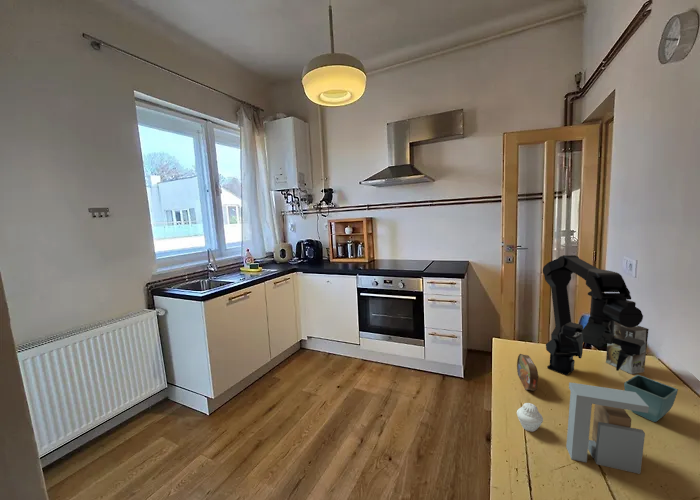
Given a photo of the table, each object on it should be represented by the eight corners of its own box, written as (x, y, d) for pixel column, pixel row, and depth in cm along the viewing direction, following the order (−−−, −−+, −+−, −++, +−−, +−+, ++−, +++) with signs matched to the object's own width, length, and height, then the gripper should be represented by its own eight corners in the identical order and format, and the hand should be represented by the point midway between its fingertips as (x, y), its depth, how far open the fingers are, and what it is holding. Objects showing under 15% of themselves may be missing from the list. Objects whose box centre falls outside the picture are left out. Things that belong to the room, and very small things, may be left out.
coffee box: (645, 372, 109) (650, 328, 107) (631, 374, 108) (636, 331, 105) (617, 360, 118) (621, 319, 116) (604, 362, 116) (608, 321, 114)
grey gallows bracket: (564, 442, 78) (569, 382, 76) (629, 456, 73) (636, 392, 71) (571, 459, 73) (576, 395, 70) (641, 475, 68) (650, 406, 66)
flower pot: (661, 430, 81) (665, 398, 80) (620, 411, 89) (623, 382, 88) (674, 418, 85) (678, 389, 84) (634, 401, 93) (637, 374, 92)
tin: (515, 371, 112) (517, 349, 111) (525, 372, 111) (526, 350, 110) (527, 395, 98) (529, 370, 96) (538, 396, 97) (540, 371, 96)
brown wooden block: (591, 438, 79) (595, 395, 77) (610, 441, 78) (615, 398, 76) (604, 462, 72) (609, 415, 70) (626, 466, 70) (631, 419, 69)
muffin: (514, 418, 87) (515, 395, 86) (538, 422, 85) (540, 399, 84) (518, 433, 81) (520, 409, 80) (545, 438, 79) (546, 413, 78)
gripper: (555, 311, 93) (551, 359, 95) (636, 330, 78) (630, 387, 80) (570, 304, 100) (567, 349, 102) (648, 321, 84) (642, 374, 86)
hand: (598, 363), depth 92 cm, fingers open, 9 cm apart
